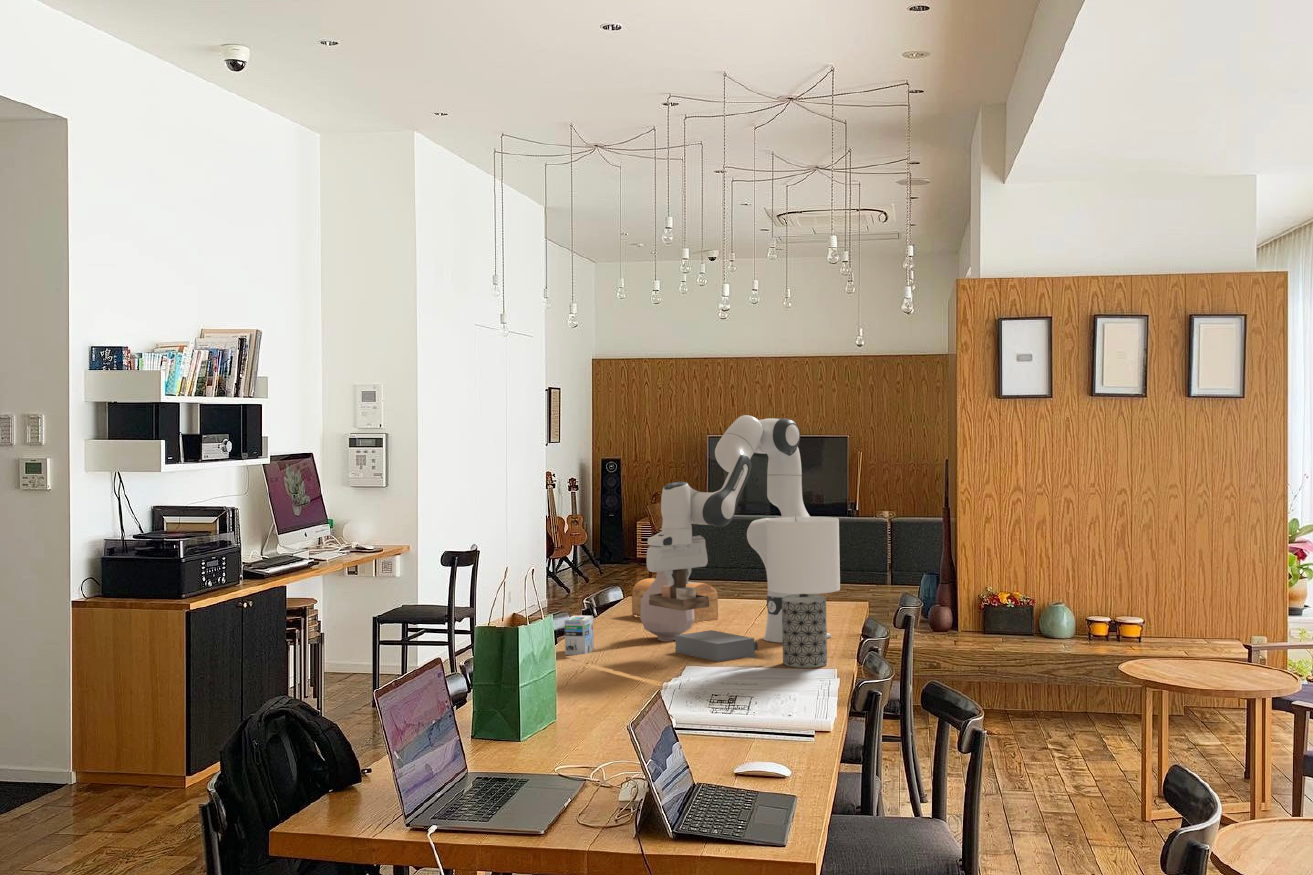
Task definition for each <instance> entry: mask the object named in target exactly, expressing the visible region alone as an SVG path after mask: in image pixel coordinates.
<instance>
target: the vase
mask: <svg viewBox="0 0 1313 875" xmlns="http://www.w3.org/2000/svg"><path fill="white" fill-rule="evenodd" d="M666 585H668V579H667V577H666V575H665V571H663V572H656V577H655V580H654V582H653V583H652V584H651V586H650V587H649V588H648V590H647V591H646V593H645V594H644V595H643V597H642V598H641V615H640V618H639V619H640V621H641V623H642V626H643V628H644V630H645V631H647V632H649V633H651V634H653V635H655V636H657V640H658V641H659V640H663V641H662V642H674V641H673V640H675V641H676V637H675V635H682V634H684V633H685V632H686V631H689V630H690V629H692V627H693V625H694V624H693V622H694V619H695V616H694V609H691V610H684V611H680V610H675V609H669V608H664V607H658V606H653V605H649V600H650V597H649V595H651V594H658V593H662V592H661V586H666Z"/></svg>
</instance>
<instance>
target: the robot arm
mask: <svg viewBox="0 0 1313 875" xmlns="http://www.w3.org/2000/svg"><path fill="white" fill-rule="evenodd" d="M800 441H801V432H800V428H799V427H798V425H797V423H796V422H795V421H794V420H792V419H789V418H772V417H771V418H769V417H768V418H764V419H762V418H761V419H758V418H756V417H754V416H752V415H748V414H744V415H740V416H739V417H737V418H736V419H735V420H734V421H733V422H732V424H730V426H728V428H727V429H726V430H725V431H724V433H723V434H722V436H721V437H720V439H719V441H718V442H717V444H716V447H715V449H714V456H715V459H716V461H717V464H718V465H719V466H720V468H722V469H723V470H724V471H725V472H727V473H728V474H727V476H726V478H725V481H724V483H723V485H722V487H721V488H720V489H719V490H717V491H714V492H710V491H709V492H703V491H699V490H695V489H694V488H692V487H691V486H690V485H689V483H688V482H686V481H675V482H670V483H668V484H666V485H664V486H663V488H662V493H661V496H660V497H661V500H660V510H661V511H660V512H661V513H660V514H661V516H662V525H661V531H659V532H658V533H656V534H655V535H652V536H650V537H649V538H647V545H648V546H649V547H648V548H647V550H646V569H647V570H648V571H649V572H652V573H657V572H663V571H665V575H666V577H667V579H668V585H669V586H675V585H676V583H675V582H676V580H675V579H673V577H672V575H671V574H673V570H679V569H682V570H686V584H688V582H689V578H690V576H691V574H692V569H694V568H703V567H706V566H707V564H708V561H709V558H708V553H707V552H708V551H707V547H706V539H705V538H704V537H703V536H702V535H693V529H692V528H693V527H692V525H702V526H704V525H705V526H713V527H718V528H723V527H726V526H728V525H729V524H730V523H731V522H732V520H733V518H734V517H735V514H736V509H737V505H738V502H739V499H740V497H741V494H742V493H743V490H744V489H745V486H746V484H747V482H748V479H749V476H750V473H751V472H752V471H751V470H752V461H751V458H752V456H753V455H754V454H765V455H767V457H768V462H767V468H766V469H767V471H766V472H767V473H766V474H767V475H766V476H767V477H766V478H767V479H766V485H767V486H766V488H767V489H766V490H767V491H766V496H767V499H768V501H769V503H771V504H772V505H773V506H775V507H777V509H778V510H779V512H780V514H781V517H811V515H810V514H809V513H808V511H807V509H806V507H805V504H804V499H803V484H802V480H803V479H802V478H803V475H802V470H803V469H802V461H801V460H802V459H801V453H800V448H799V445H800ZM769 518H770V517H764V518H759V519H755V520H753V521H751V523H750V524H749V526H748V528H747V531H746V540H747V542H748V544H749V545H750V547H751V548H752V549H753V550H754V551H755V552H756V553H757V554H758V555H759V557H760V559H761V561H762V562H763V565H764V567H765V571H766V573H767V528H766V519H769ZM786 595H791V594H788V593H777V592H772V591H769V590H768V589H767V595H766V608H767V616H766V617H767V618H766V623H765V624H766V625H765V632H764V636H763V640H765V641H767V642H772V643H782V644H783V636H782V598H783V597H785V596H786ZM831 634H832V633H829V632H827V639H828V638H831V637H832V635H831Z"/></svg>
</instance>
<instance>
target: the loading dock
mask: <svg viewBox="0 0 1313 875" xmlns="http://www.w3.org/2000/svg"><path fill="white" fill-rule="evenodd" d="M675 637H676V640H675V653H677V654H683V655H687V656H691V657H695V658H700V659H705V660H709V661H713V662H717V663H718V662H724V661H729V660H736V659H737V660H738V659H742V658H743V659H744V658H749V659H755V658H756V656H755V655H756V653H755V652H756V651H758V650H759V649H758V647H759V646H758V645H759V644H758V641H755V637H751V636H750V637H749V636H743V635H740V634H733V633H727V632H724V631H717V630H713V629H711V630H710V629H709V630H705V631H703V630H702V631H697V632H690V633H682V634H680V635H675Z"/></svg>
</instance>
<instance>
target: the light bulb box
mask: <svg viewBox="0 0 1313 875" xmlns="http://www.w3.org/2000/svg"><path fill="white" fill-rule="evenodd" d="M594 636H595V634H594V616H593V615H582V614H581V615H579V614H578V615H577V614H576V615H574V614H573V615H572V616H569V617H567V618H566V619H564V655H565V656H578V655H586V654H589V653H591V652H593V651H594V650H595V648H594V647H595V643H594V642H595V641H594V639H595V638H594ZM593 649H594V650H593ZM592 650H593V651H592Z"/></svg>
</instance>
